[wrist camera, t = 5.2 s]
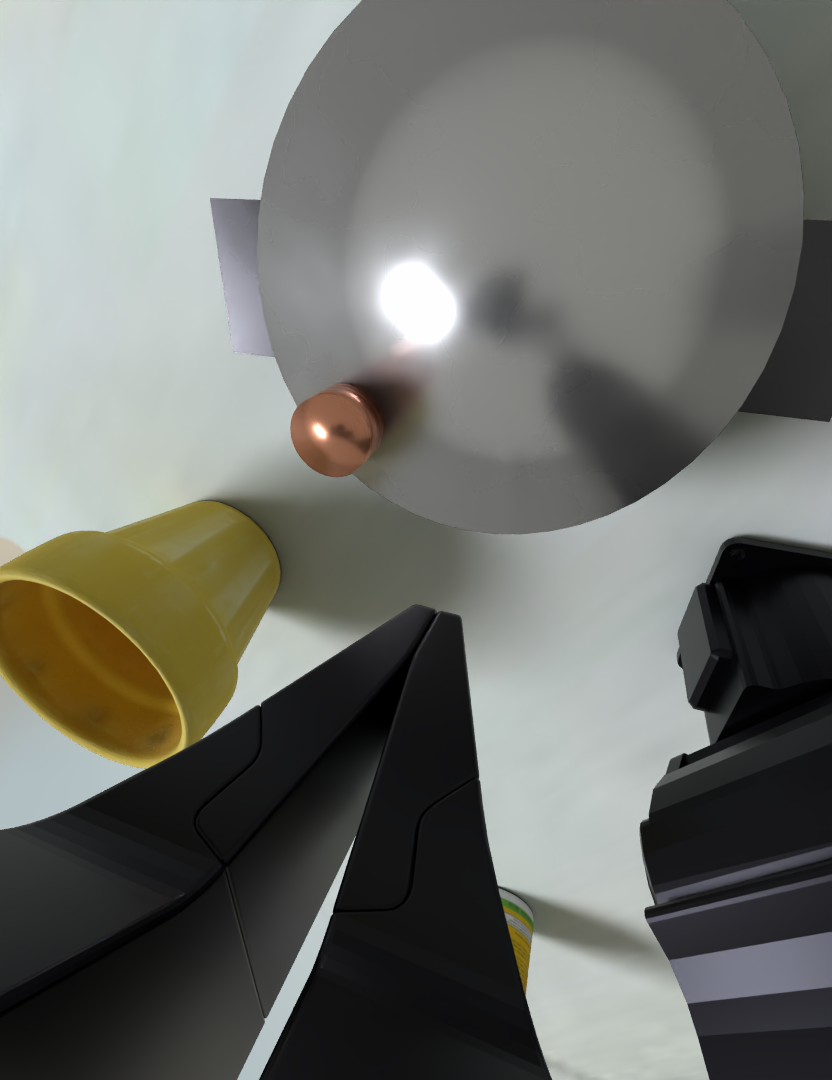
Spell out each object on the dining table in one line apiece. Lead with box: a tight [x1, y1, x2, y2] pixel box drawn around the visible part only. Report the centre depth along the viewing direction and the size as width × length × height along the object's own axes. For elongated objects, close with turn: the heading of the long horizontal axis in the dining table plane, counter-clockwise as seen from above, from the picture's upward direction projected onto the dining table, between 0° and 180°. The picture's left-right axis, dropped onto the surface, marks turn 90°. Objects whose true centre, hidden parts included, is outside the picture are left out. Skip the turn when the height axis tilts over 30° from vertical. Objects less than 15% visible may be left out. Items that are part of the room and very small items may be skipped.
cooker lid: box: [257, 0, 804, 534], centre depth 13 cm, size 13×13×3 cm
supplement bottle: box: [498, 888, 534, 996], centre depth 35 cm, size 5×5×10 cm
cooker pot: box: [210, 198, 832, 422], centre depth 16 cm, size 18×13×4 cm
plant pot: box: [0, 501, 280, 769], centre depth 25 cm, size 10×10×10 cm
